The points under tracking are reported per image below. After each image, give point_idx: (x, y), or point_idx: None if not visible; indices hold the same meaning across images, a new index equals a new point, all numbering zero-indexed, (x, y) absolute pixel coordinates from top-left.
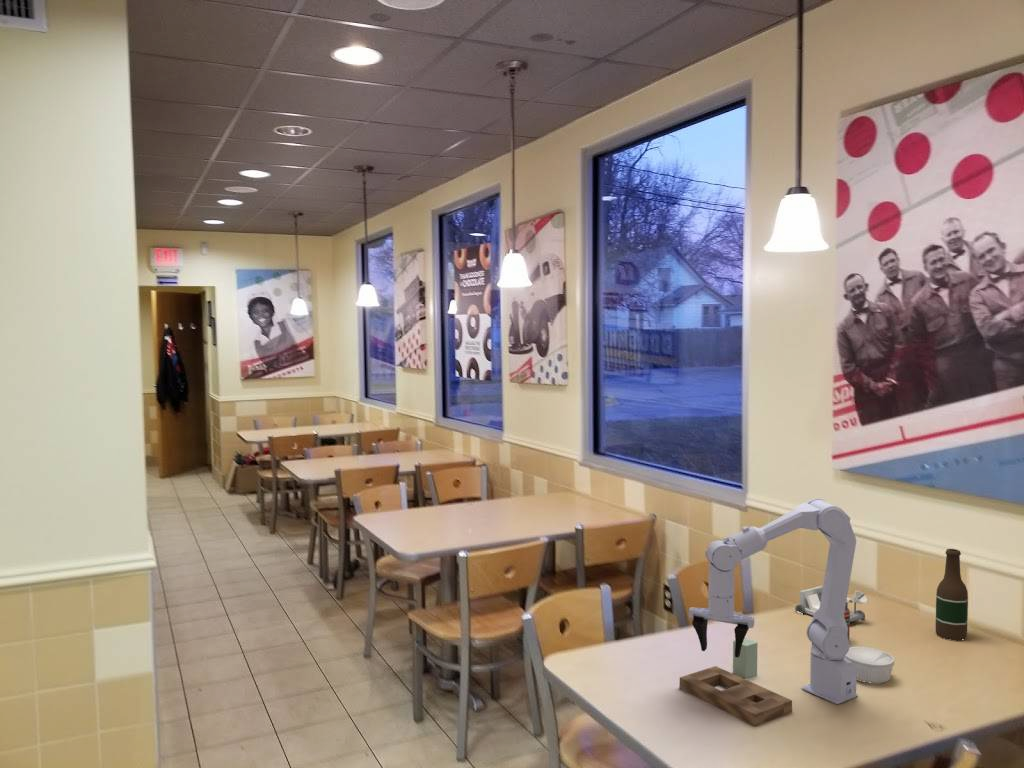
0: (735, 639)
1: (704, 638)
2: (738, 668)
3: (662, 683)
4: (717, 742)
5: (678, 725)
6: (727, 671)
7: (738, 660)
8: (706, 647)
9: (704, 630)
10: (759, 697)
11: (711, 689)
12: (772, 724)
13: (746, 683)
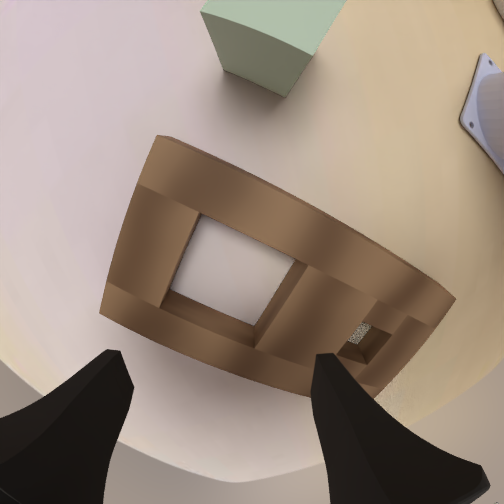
0: (331, 497)
1: (102, 429)
2: (249, 73)
3: (69, 287)
4: (291, 449)
5: (208, 437)
6: (222, 166)
7: (248, 63)
8: (118, 359)
9: (84, 469)
10: (376, 326)
11: (222, 353)
12: None
13: (327, 250)
